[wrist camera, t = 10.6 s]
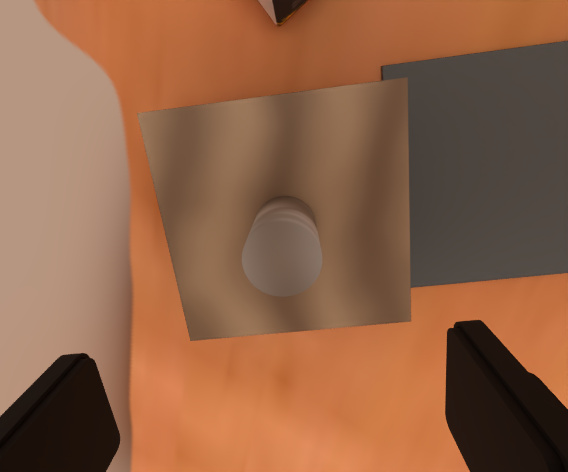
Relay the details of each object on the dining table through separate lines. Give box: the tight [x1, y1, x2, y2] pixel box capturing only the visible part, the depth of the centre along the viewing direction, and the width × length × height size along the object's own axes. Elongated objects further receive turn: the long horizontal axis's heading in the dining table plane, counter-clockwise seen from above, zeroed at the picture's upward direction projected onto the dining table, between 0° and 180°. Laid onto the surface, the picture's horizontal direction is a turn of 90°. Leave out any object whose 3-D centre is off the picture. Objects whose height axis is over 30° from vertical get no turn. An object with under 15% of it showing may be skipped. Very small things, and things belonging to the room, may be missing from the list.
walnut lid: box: [137, 77, 411, 341], centre depth 21 cm, size 16×16×7 cm
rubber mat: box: [381, 41, 568, 288], centre depth 30 cm, size 19×19×1 cm
